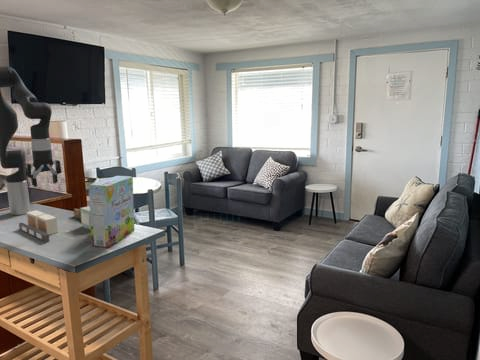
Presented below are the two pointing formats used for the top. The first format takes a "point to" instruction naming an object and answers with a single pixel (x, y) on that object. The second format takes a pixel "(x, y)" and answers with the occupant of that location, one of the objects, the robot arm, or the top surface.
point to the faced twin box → (33, 218)
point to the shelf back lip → (77, 213)
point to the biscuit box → (47, 224)
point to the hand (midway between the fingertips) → (45, 184)
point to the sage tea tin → (86, 217)
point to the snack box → (111, 210)
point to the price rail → (34, 232)
